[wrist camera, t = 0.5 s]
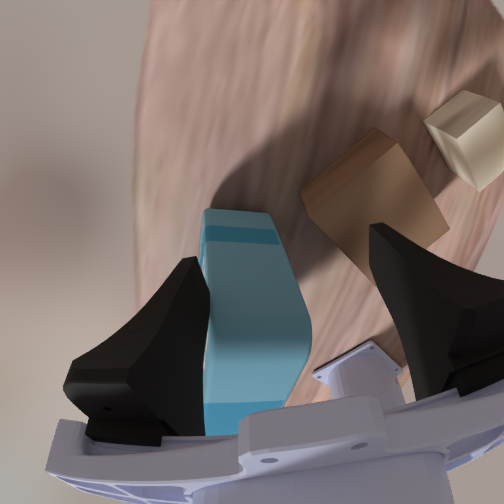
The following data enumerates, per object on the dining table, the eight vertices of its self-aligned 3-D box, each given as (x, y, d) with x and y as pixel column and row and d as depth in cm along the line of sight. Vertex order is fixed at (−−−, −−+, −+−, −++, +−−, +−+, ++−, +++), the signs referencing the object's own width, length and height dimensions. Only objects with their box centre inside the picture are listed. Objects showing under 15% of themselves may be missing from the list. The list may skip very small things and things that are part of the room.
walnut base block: (425, 203, 23) (450, 229, 19) (360, 255, 25) (375, 286, 22) (373, 126, 19) (397, 142, 16) (298, 190, 22) (308, 217, 19)
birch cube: (483, 136, 19) (519, 156, 15) (447, 166, 21) (479, 192, 17) (462, 89, 17) (500, 102, 13) (422, 120, 19) (456, 139, 15)
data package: (204, 199, 22) (211, 340, 12) (268, 204, 23) (320, 339, 13) (193, 320, 28) (199, 446, 19) (242, 322, 29) (264, 443, 20)
